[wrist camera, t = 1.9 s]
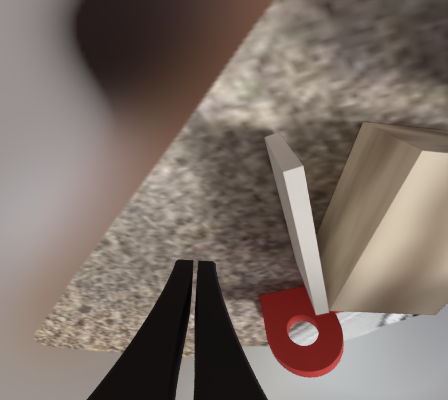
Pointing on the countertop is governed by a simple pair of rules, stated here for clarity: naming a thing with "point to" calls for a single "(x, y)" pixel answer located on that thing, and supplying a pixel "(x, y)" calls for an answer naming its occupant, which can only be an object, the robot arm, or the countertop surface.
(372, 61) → the countertop surface
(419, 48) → the countertop surface
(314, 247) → the door
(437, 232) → the cream rectangular block
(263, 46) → the countertop surface
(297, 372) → the bracket
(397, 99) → the countertop surface
